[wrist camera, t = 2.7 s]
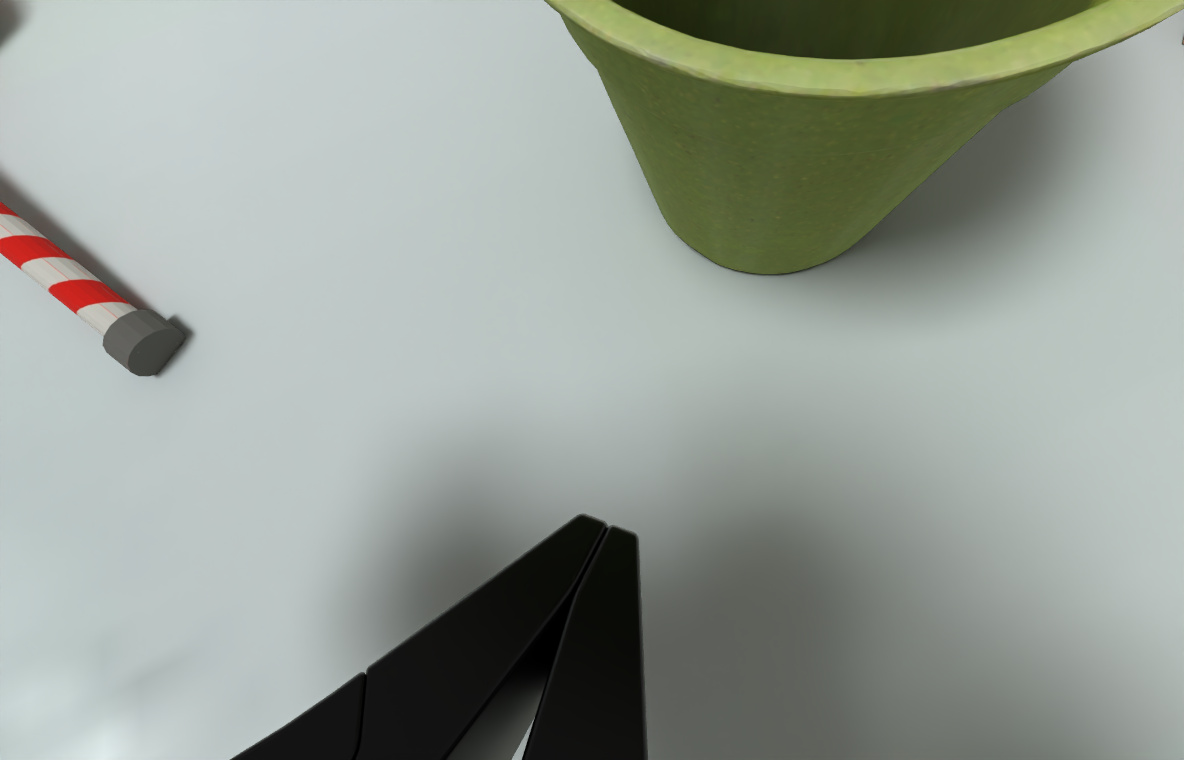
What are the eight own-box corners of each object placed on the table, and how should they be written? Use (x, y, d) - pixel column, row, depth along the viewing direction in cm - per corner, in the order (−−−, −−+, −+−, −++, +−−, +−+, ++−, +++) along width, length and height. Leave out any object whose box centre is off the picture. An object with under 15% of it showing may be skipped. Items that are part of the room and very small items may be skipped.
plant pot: (824, -48, 21) (984, -685, 10) (1054, 227, 17) (1671, -259, 7) (518, 121, 21) (338, -315, 10) (689, 422, 18) (700, 266, 7)
